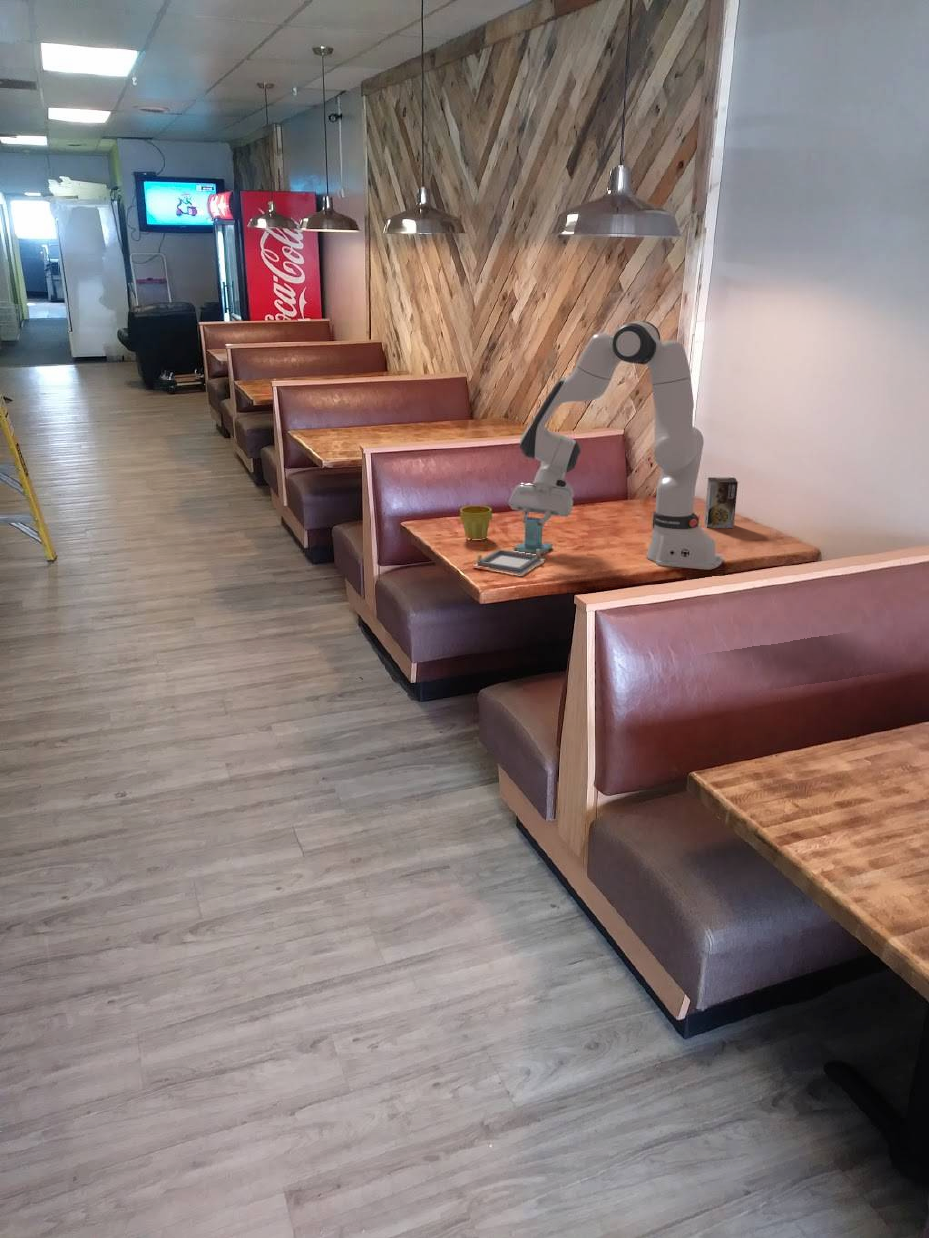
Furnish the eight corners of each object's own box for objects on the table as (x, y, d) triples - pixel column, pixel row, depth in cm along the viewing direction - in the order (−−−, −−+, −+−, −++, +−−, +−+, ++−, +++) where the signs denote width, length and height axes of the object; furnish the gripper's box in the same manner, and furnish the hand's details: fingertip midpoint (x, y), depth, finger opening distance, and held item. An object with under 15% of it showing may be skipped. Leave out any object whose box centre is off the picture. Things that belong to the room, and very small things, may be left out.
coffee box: (730, 523, 312) (735, 477, 306) (733, 528, 306) (738, 481, 300) (703, 522, 313) (707, 476, 307) (706, 528, 307) (710, 481, 301)
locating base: (544, 561, 274) (545, 549, 272) (521, 577, 260) (522, 563, 259) (497, 554, 281) (497, 541, 279) (472, 568, 268) (472, 555, 266)
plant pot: (453, 537, 297) (453, 508, 294) (477, 532, 304) (477, 503, 300) (474, 544, 290) (474, 515, 286) (498, 538, 296) (498, 509, 293)
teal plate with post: (552, 548, 286) (553, 517, 282) (540, 556, 279) (541, 524, 275) (526, 544, 290) (527, 514, 286) (514, 551, 283) (514, 520, 279)
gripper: (514, 476, 287) (499, 514, 283) (574, 483, 278) (560, 522, 273) (519, 487, 292) (506, 524, 288) (579, 495, 283) (565, 533, 279)
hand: (533, 523), depth 281 cm, fingers closed on teal plate with post, 4 cm apart
